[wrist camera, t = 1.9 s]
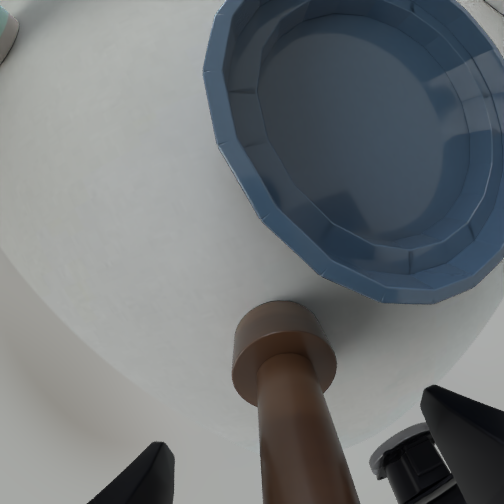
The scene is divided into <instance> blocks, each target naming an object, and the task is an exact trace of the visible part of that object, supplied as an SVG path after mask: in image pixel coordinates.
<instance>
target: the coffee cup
mask: <svg viewBox="0 0 504 504" xmlns="http://www.w3.org/2000/svg"><path fill="white" fill-rule="evenodd" d="M18 29H19V22H18V21H17V20H16V19H15V18H14V17H13V16H12V15H11V14H9V13H8V12H7V11H6V10H5V9H4V8H3V7H2V6H0V64H1V63H2V61H3V60H4V58H5V57H6V55H7V53H8V52H9V50H10V48H11V46H12V44H13V42H14V40H15V38H16V36H17V33H18Z"/></svg>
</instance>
